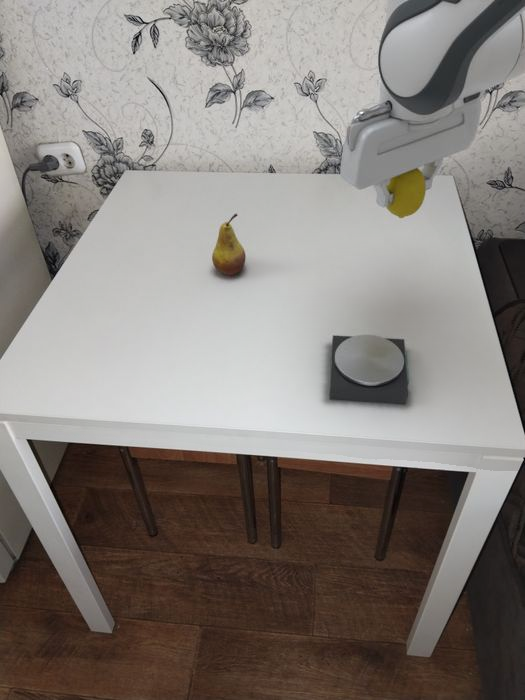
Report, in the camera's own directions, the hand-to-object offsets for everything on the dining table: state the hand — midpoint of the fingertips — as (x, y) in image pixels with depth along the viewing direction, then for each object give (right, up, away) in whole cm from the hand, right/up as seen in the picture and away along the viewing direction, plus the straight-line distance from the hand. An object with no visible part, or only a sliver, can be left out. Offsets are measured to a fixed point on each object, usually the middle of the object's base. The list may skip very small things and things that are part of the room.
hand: (404, 196), depth 80 cm
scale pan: (-5, -22, 0) cm, 23 cm away
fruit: (-25, -7, +20) cm, 33 cm away
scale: (-5, -24, +2) cm, 25 cm away
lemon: (0, -3, +2) cm, 4 cm away
